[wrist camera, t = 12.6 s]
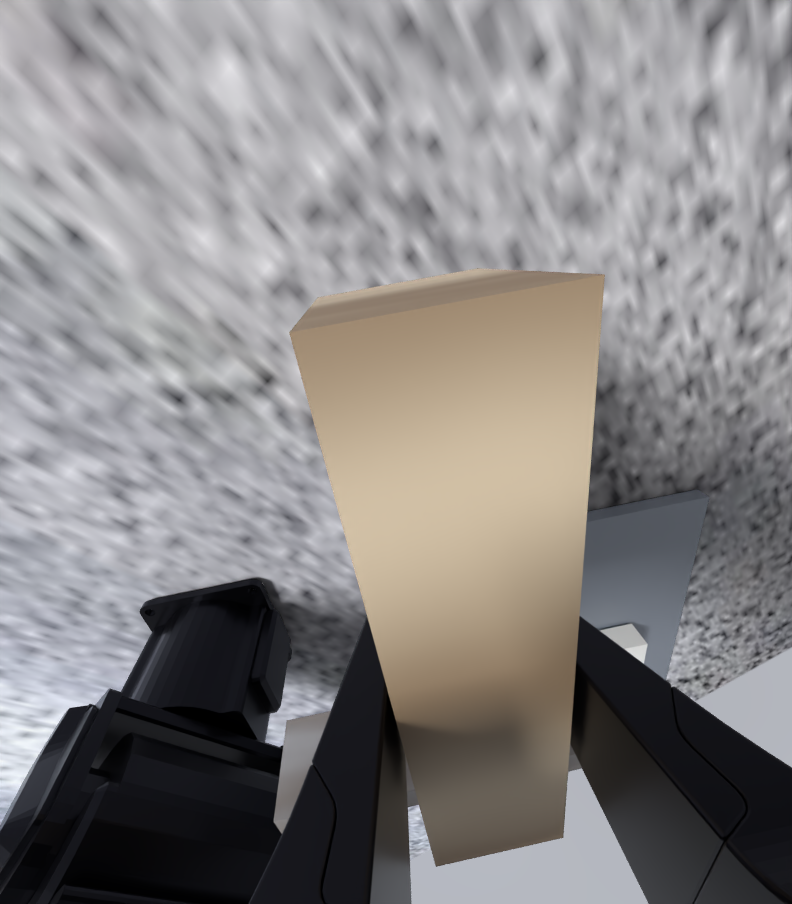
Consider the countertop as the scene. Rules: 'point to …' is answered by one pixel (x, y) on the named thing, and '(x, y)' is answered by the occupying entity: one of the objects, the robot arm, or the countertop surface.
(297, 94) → the countertop surface
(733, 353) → the countertop surface
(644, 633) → the slate board
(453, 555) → the block
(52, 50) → the countertop surface
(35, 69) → the countertop surface
